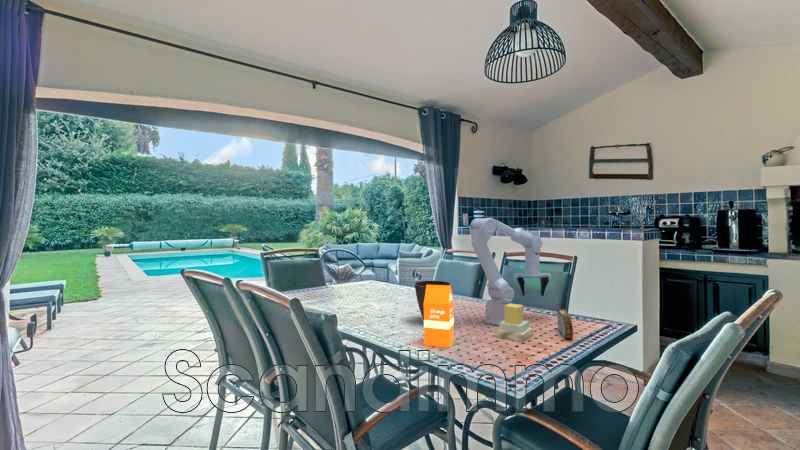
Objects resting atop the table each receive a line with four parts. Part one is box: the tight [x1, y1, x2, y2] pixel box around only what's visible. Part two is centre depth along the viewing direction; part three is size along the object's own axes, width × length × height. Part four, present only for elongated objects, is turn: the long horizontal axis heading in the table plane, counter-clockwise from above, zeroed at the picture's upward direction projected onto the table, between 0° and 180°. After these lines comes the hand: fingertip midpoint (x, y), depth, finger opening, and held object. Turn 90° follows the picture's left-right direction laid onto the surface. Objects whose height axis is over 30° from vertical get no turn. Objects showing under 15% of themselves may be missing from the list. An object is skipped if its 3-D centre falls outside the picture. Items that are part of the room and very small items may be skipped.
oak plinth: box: [494, 326, 534, 343], centre depth 128 cm, size 10×10×2 cm
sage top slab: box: [498, 319, 530, 334], centre depth 128 cm, size 8×8×2 cm
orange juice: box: [423, 285, 455, 348], centre depth 123 cm, size 8×9×20 cm
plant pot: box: [414, 280, 451, 321], centre depth 148 cm, size 15×15×16 cm
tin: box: [556, 308, 574, 339], centre depth 129 cm, size 15×3×8 cm, turn 166°
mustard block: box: [504, 302, 524, 325], centre depth 128 cm, size 5×5×6 cm
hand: (532, 295), depth 150 cm, fingers open, 7 cm apart
